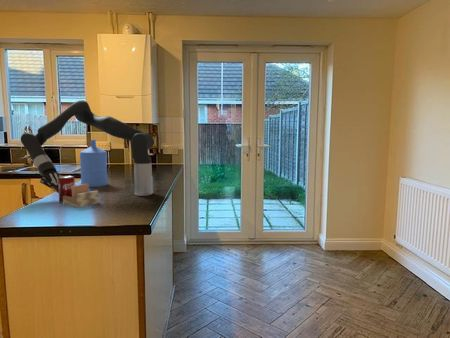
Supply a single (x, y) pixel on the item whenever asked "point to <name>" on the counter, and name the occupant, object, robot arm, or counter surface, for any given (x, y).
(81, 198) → the birch dock
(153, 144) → the robot arm
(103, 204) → the counter surface
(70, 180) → the soda can
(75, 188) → the catch plate
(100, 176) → the water jug
